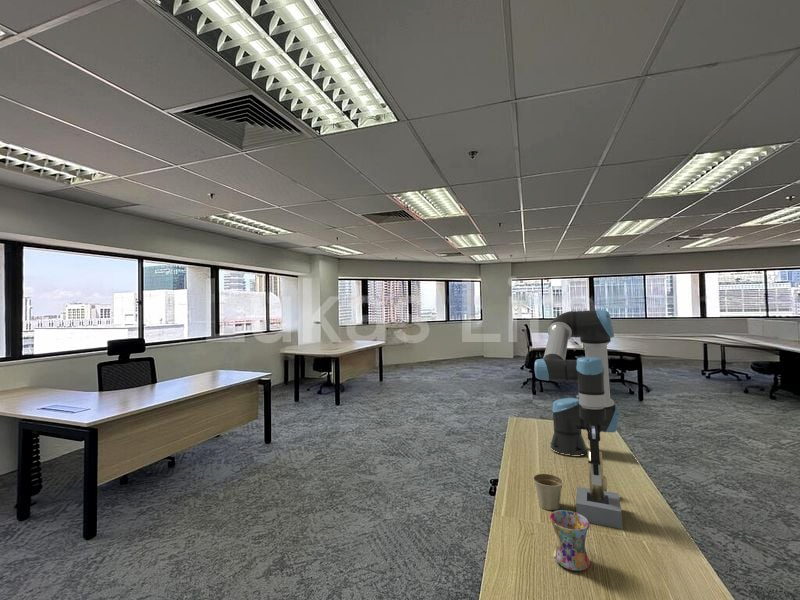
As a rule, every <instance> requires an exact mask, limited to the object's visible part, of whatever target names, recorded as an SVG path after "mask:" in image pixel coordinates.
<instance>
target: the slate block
mask: <svg viewBox="0 0 800 600" xmlns="http://www.w3.org/2000/svg"><path fill="white" fill-rule="evenodd" d="M604 495H605V499H604V500H596V499H593V498H592V497H591V496H590V487H583V486H577V487H576V499H575V507H576V508H575V509H576V513H578V514H580V515H582V516H584V517H585V518H586V519H587V520H588V521H589V524H590V523H591V524H594V525H595V524H596V525H598V526H599V525H600V526H604V527H609V528H613V529H614V528H615V529H620V530H623V515H622V507H621V500H620V495H619V492H612V491H608V490H607V491H604Z"/></svg>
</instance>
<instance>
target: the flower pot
mask: <svg viewBox="0 0 800 600" xmlns="http://www.w3.org/2000/svg"><path fill="white" fill-rule="evenodd" d="M532 480H533V481H534V485H535V489H536V493H537V494H536V495H537V499H538V505H539V506H540V507H541V508H542V509H544V510H547V511H553V510H554V511H558V510H559V509H560V503H561V491H562V487H563V485H564V480H563V478H561V477H559V476H557V475H554V474H551V473H537V474H535V475H533V476H532Z"/></svg>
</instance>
